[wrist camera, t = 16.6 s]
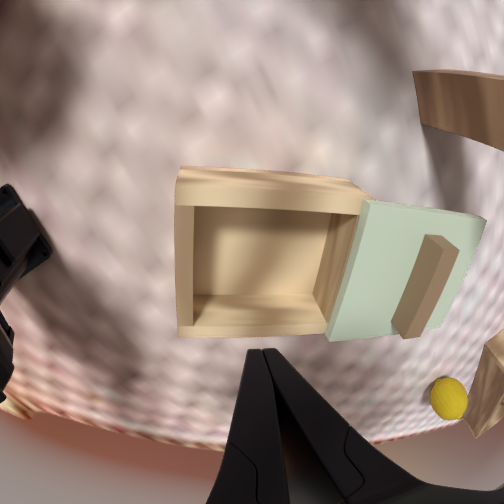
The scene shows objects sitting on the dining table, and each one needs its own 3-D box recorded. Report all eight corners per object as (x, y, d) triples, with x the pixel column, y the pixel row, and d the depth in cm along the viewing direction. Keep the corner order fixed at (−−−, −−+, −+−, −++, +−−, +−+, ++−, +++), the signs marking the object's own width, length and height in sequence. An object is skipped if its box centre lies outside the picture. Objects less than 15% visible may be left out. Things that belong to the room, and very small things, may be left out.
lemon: (420, 382, 37) (444, 424, 30) (451, 361, 36) (477, 400, 29) (423, 395, 39) (444, 433, 32) (451, 376, 38) (474, 412, 32)
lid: (324, 334, 21) (337, 363, 19) (363, 199, 16) (389, 219, 14) (435, 321, 23) (451, 342, 21) (480, 216, 18) (504, 233, 16)
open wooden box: (180, 298, 23) (178, 337, 19) (180, 166, 18) (174, 186, 15) (318, 297, 25) (335, 332, 21) (346, 178, 20) (376, 200, 17)
